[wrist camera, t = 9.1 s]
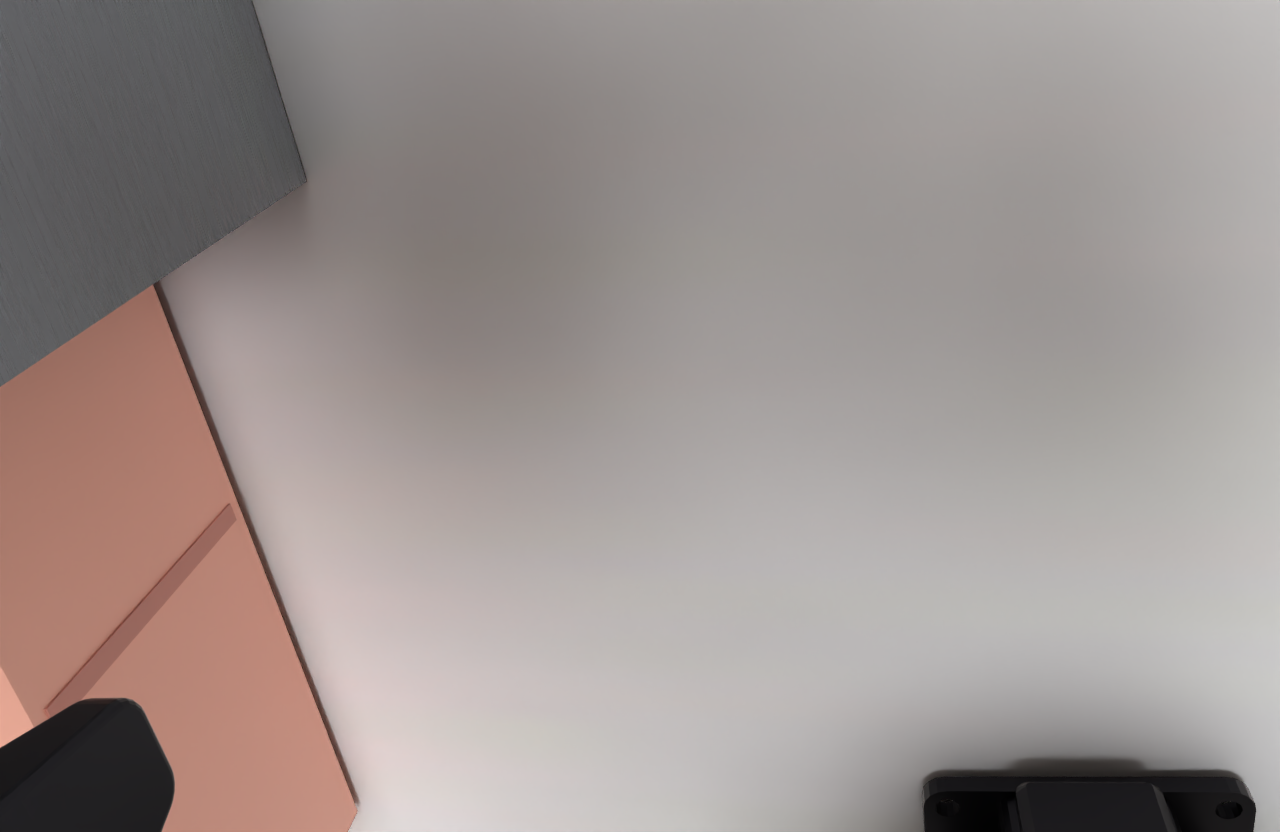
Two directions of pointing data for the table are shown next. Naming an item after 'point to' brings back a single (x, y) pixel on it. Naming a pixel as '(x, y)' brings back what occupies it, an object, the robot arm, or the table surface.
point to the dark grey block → (125, 153)
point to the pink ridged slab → (151, 583)
